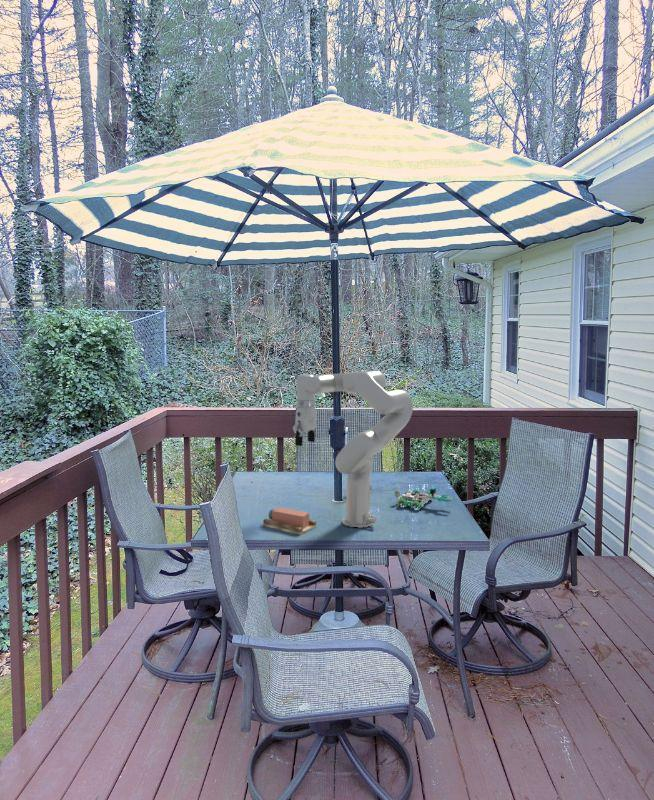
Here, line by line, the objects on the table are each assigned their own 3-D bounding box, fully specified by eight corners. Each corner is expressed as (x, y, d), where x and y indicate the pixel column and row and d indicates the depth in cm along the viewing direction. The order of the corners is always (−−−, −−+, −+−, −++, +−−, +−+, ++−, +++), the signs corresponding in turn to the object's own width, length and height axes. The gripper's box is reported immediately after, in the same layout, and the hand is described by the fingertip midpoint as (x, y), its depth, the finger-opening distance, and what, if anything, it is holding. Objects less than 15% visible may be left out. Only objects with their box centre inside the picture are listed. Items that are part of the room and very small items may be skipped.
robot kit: (445, 517, 252) (446, 495, 250) (390, 507, 264) (391, 486, 263) (458, 505, 268) (459, 485, 267) (406, 496, 280) (407, 477, 279)
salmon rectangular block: (309, 525, 236) (309, 512, 235) (303, 529, 232) (303, 516, 231) (274, 518, 243) (274, 506, 242) (267, 522, 239) (267, 510, 238)
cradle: (316, 527, 237) (316, 520, 236) (300, 535, 228) (300, 528, 227) (280, 518, 246) (280, 512, 246) (263, 525, 237) (263, 519, 237)
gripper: (301, 406, 242) (301, 448, 244) (323, 402, 257) (323, 441, 259) (286, 405, 246) (286, 446, 248) (309, 400, 260) (308, 439, 263)
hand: (305, 443), depth 254 cm, fingers open, 9 cm apart
